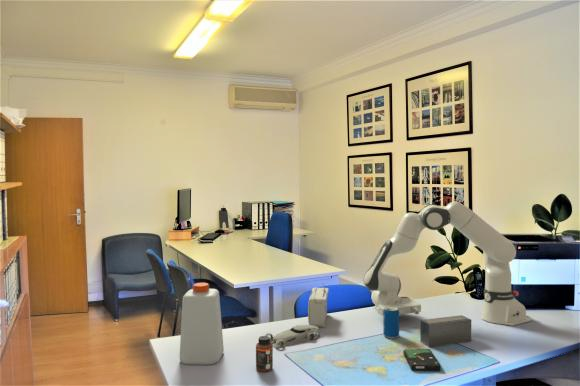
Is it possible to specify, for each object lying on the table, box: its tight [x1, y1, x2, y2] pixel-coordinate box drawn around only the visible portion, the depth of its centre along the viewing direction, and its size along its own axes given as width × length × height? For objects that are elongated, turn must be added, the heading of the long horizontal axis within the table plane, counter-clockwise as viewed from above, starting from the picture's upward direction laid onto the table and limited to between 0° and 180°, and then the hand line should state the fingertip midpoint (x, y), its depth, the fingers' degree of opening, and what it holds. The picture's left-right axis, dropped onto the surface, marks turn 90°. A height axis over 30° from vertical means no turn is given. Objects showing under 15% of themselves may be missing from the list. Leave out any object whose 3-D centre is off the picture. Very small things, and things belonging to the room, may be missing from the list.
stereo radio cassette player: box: [307, 283, 330, 328], centre depth 215 cm, size 21×8×20 cm, turn 172°
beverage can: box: [382, 306, 400, 339], centre depth 194 cm, size 6×6×12 cm
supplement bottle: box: [255, 335, 274, 373], centre depth 163 cm, size 6×6×11 cm
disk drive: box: [402, 348, 442, 372], centre depth 168 cm, size 10×3×15 cm
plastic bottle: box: [179, 282, 225, 366], centre depth 173 cm, size 15×15×28 cm
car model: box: [264, 324, 320, 350], centre depth 192 cm, size 11×24×5 cm, turn 124°
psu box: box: [419, 314, 472, 348], centre depth 188 cm, size 20×6×9 cm, turn 107°
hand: (408, 313), depth 205 cm, fingers open, 8 cm apart
